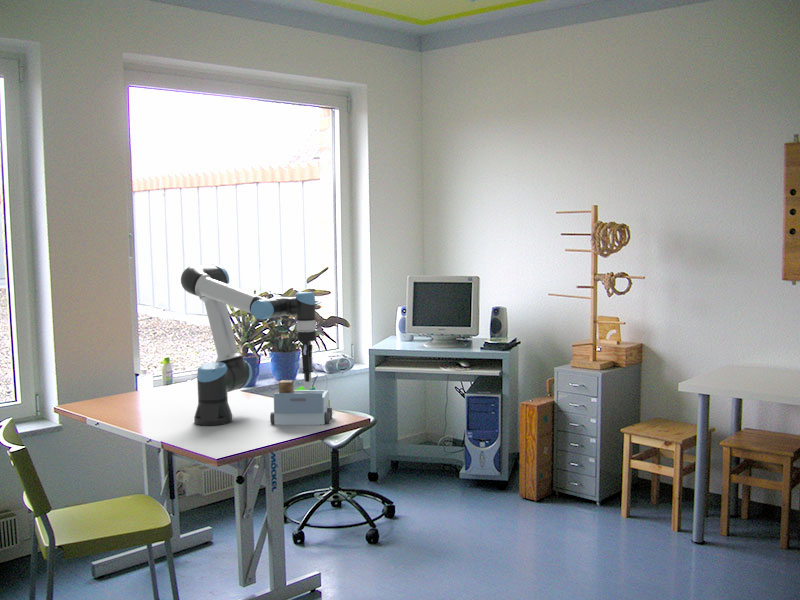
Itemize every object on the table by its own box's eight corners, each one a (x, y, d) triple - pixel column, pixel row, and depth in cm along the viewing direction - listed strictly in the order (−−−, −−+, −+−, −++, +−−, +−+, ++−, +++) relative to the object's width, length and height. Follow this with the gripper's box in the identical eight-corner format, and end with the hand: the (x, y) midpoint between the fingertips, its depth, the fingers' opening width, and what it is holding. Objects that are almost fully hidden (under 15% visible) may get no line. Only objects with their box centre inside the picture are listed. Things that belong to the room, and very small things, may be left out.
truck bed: (270, 424, 306) (269, 397, 305) (277, 416, 320) (276, 390, 319) (328, 424, 305) (328, 397, 304) (332, 416, 319) (332, 390, 319)
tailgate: (274, 413, 303) (273, 393, 303) (275, 412, 305) (274, 392, 304) (322, 413, 303) (321, 393, 302) (322, 412, 304) (322, 392, 304)
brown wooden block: (279, 412, 306) (278, 382, 305) (281, 409, 311) (281, 380, 310) (291, 412, 306) (291, 382, 305) (293, 409, 311) (293, 380, 310)
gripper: (313, 332, 299) (315, 392, 301) (318, 328, 312) (319, 385, 314) (294, 332, 299) (296, 392, 301) (299, 328, 312) (301, 386, 314)
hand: (308, 389), depth 308 cm, fingers closed
